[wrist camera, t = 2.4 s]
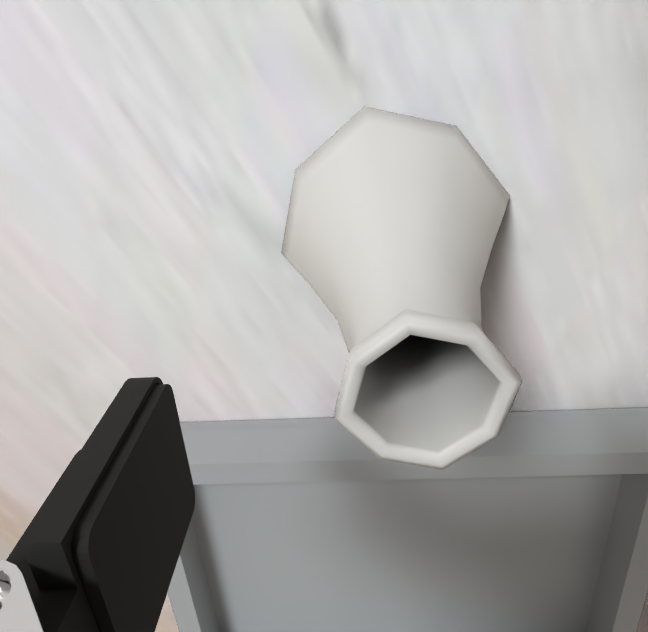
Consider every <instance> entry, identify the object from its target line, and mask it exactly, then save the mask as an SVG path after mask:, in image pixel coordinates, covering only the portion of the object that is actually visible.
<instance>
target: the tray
mask: <svg viewBox="0 0 648 632" xmlns="http://www.w3.org/2000/svg"><path fill="white" fill-rule="evenodd" d="M180 426H181V431H182V435H183V440H184V444H185V449H186V453H187V458H188V462H189V467H190V471H191V476H192V480H193V485H194V489H195V508H194V512H193V515H192V518H191V521H190V524H189V527H188V530H187V533H186V536H185V539H184V543H183V546H182V549H181V552H180V555H179V558H178V561H177V564H176V567H175V570H174V573H173V576H172V579H171V582H170V586H169V589H168V592H167V593H168V596H169V599H170V602H171V606H172V609H173V612H174V616H175V619H176V622H177V625H178V629H179V632H636V630H637V627H638V624H639V620H640V617H641V613H642V610H643V607H644V603H645V600H646V596H647V593H648V408H617V409H585V410H554V411H522V412H509V413H508V415H507V417H506V420H505V422H504V424H503V427H502V429H501V431H500V434H499V436H498V437H497V438H495V439H493V440H492V441H490V442H488V443H487V444H485V445H483V446H482V447H480V448H478V449H477V450H475V451H473V452H472V453H470V454H469V455H467V456H465V457H464V458H462V459H460V460H459V461H457V462H455V463H454V464H452V465H450V466H449V467H447V468H445V469H444V470H440V469H435V468H429V467H424V466H418V465H412V464H407V463H401V462H396V461H390V460H384V459H379V458H378V457H377V456H376V455H374V454H373V453H372V452H371V451H370V450H369V449H368V448H367V447H366V446H365V445H364V444H363V443H361V442H360V441H359V440H358V439H357V438H356V437H355V436H354V435H353V434H352V433H351V432H349V431H348V430H347V429H346V428H345V427H344V426H343V425H342V424H341V423H340V422H339V421H337V420H336V419H335V417H333V418H302V419H270V420H239V421H207V422H180Z"/></svg>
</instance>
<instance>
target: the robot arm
mask: <svg viewBox="0 0 648 632" xmlns="http://www.w3.org/2000/svg"><path fill="white" fill-rule="evenodd" d="M194 508H195V489H194V485H193V480H192V476H191V471H190V467H189V462H188V458H187V453H186V449H185V444H184V440H183V435H182V431H181V426H180V422H179V417H178V412H177V408H176V403H175V399H174V394H173V390H172V387H171V386H170V385H169V384H163V383H162V381H161V379H160V378H158V377H150V378H130V379H128V380H127V381H126V382H125V383H124V385H123V386H122V388H121V389H120V391H119V392H118V394H117V395H116V397H115V399H114V400H113V402H112V403H111V405H110V406H109V408H108V409H107V411H106V412H105V414H104V416H103V417H102V419H101V420H100V422H99V423H98V425H97V426H96V428H95V429H94V431H93V433H92V434H91V436H90V437H89V439H88V440H87V442H86V443H85V445H84V446H83V448H82V449H81V450H79V451H78V453H77V454H76V455H75V456H74V457H73V459H72V461H71V462H70V464H69V465H68V467H67V468H66V470H65V471H64V473H63V474H62V476H61V477H60V479H59V480H58V482H57V483H56V485H55V487H54V488H53V490H52V491H51V493H50V494H49V496H48V497H47V499H46V500H45V502H44V503H43V505H42V506H41V508H40V509H39V511H38V512H37V514H36V516H35V517H34V519H33V520H32V522H31V523H30V525H29V526H28V528H27V529H26V531H25V532H24V534H23V535H22V537H21V538H20V540H19V541H18V543H17V545H16V546H15V548H14V549H13V551H12V552H11V554H10V555H9V557H8V558H7V560H0V632H155V629H156V625H157V622H158V619H159V616H160V613H161V610H162V607H163V604H164V601H165V598H166V595H167V592H168V589H169V586H170V582H171V579H172V576H173V573H174V570H175V567H176V564H177V561H178V558H179V555H180V552H181V549H182V546H183V543H184V539H185V536H186V533H187V530H188V527H189V524H190V521H191V518H192V515H193V512H194Z"/></svg>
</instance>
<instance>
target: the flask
mask: <svg viewBox="0 0 648 632" xmlns="http://www.w3.org/2000/svg"><path fill="white" fill-rule="evenodd" d="M509 197H510V195H509V194H508V192H507V191H506V190H505V188H504V187H503V186H502V185H501V183H500V182H499V181H498V179H497V178H496V177H495V175H494V174H493V173H492V172H491V170H490V169H489V168H488V166H487V165H486V164H485V162H484V161H483V160H482V159H481V157H480V156H479V155H478V153H477V152H476V151H475V149H474V148H473V147H472V146H471V144H470V143H469V142H468V140H467V139H466V138H465V136H464V135H463V134H462V133H461V131H460V130H459V129H458V127H457V126H454V125H450V124H445V123H440V122H435V121H431V120H426V119H421V118H416V117H412V116H407V115H402V114H397V113H393V112H388V111H383V110H378V109H374V108H369V107H363V108H362V109H361V110H360V111H359V112H358V113H357V114H355V115H354V116H353V117H352V118H351V119H350V120H349V121H348V122H347V123H346V124H345V125H344V126H342V127H341V128H340V129H339V130H338V131H337V132H336V133H335V134H334V135H333V136H332V137H331V138H329V139H328V140H327V141H326V142H325V143H324V144H323V145H322V146H321V147H320V148H319V149H318V150H316V151H315V152H314V153H313V154H312V155H311V156H310V157H309V158H308V159H307V160H306V161H305V162H303V163H302V164H301V165H300V166H299V167H298V168H297V169H296V170H295V174H294V180H293V186H292V192H291V198H290V204H289V210H288V216H287V222H286V228H285V234H284V240H283V246H282V252H281V253H282V254H283V255H284V257H285V258H286V259H287V261H288V262H289V263H290V264H291V265H292V266H293V267H294V268H295V269H296V270H297V272H298V273H299V274H300V275H301V276H302V277H303V278H304V279H305V280H306V281H307V282H308V283H309V285H310V286H311V287H312V288H313V290H314V291H315V292H316V294H317V295H318V296H319V297H320V299H321V300H322V301H323V303H324V304H325V305H326V306H327V308H328V309H329V310H330V312H331V313H332V314H333V315H334V317H335V318H336V319H337V321H338V324H339V326H340V329H341V332H342V335H343V338H344V340H345V343H346V346H347V349H348V351H349V356H348V360H347V364H346V368H345V372H344V376H343V380H342V384H341V388H340V392H339V396H338V400H337V404H336V407H335V419H336V420H337V421H339V422H340V423H341V424H342V425H343V426H344V427H345V428H346V429H347V430H348V431H349V432H351V433H352V434H353V435H354V436H355V437H356V438H357V439H358V440H359V441H360V442H361V443H363V444H364V445H365V446H366V447H367V448H368V449H369V450H370V451H371V452H372V453H373V454H374V455H376V456H377V457H378V458H379V459H384V460H390V461H396V462H401V463H407V464H412V465H418V466H424V467H429V468H435V469H440V470H444V469H445V468H447V467H449V466H450V465H452V464H454V463H455V462H457V461H459V460H460V459H462V458H464V457H465V456H467V455H469V454H470V453H472V452H473V451H475V450H477V449H478V448H480V447H482V446H483V445H485V444H487V443H488V442H490V441H492V440H493V439H495V438H497V437H498V436H499V434H500V431H501V429H502V427H503V424H504V422H505V420H506V417H507V415H508V413H509V411H510V408H511V406H512V404H513V401H514V399H515V397H516V394H517V392H518V390H519V387H520V385H521V383H522V379H521V377H520V374H519V373H518V372H517V371H516V369H515V368H514V367H513V366H512V365H511V364H510V363H509V361H508V360H507V359H506V358H505V357H504V356H503V355H502V354H501V352H500V351H499V350H498V349H497V348H496V347H495V346H494V344H493V343H492V342H491V341H490V340H489V339H488V338H487V337H486V335H485V334H484V333H483V330H482V319H481V292H480V288H481V284H482V281H483V277H484V274H485V270H486V267H487V263H488V260H489V256H490V253H491V250H492V247H493V244H494V241H495V238H496V235H497V233H498V230H499V227H500V224H501V221H502V219H503V216H504V213H505V210H506V207H507V204H508V200H509Z"/></svg>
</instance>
